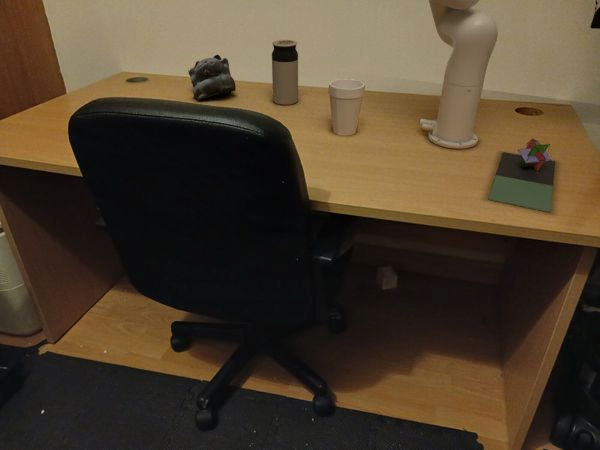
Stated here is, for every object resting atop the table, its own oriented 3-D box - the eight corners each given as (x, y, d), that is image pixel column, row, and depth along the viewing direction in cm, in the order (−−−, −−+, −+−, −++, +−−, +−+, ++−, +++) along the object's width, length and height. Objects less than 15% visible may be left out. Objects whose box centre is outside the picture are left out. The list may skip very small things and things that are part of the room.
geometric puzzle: (561, 168, 108) (556, 133, 108) (534, 170, 106) (529, 135, 107) (540, 173, 115) (535, 141, 115) (514, 176, 113) (509, 143, 114)
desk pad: (488, 199, 101) (488, 198, 100) (502, 153, 120) (502, 152, 120) (550, 212, 96) (550, 211, 96) (554, 162, 116) (555, 161, 116)
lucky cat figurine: (187, 102, 151) (176, 58, 150) (202, 105, 163) (192, 64, 161) (231, 90, 148) (220, 44, 146) (243, 94, 159) (233, 52, 158)
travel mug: (302, 100, 154) (303, 41, 144) (289, 107, 148) (288, 46, 138) (282, 95, 157) (281, 38, 148) (268, 102, 152) (266, 43, 142)
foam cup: (366, 128, 134) (369, 81, 127) (355, 140, 127) (358, 91, 120) (334, 122, 137) (336, 77, 130) (322, 134, 130) (323, 86, 123)
